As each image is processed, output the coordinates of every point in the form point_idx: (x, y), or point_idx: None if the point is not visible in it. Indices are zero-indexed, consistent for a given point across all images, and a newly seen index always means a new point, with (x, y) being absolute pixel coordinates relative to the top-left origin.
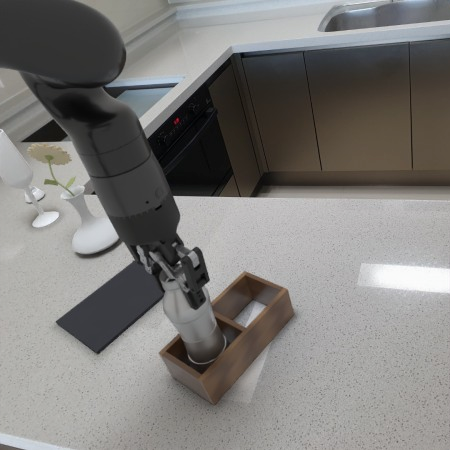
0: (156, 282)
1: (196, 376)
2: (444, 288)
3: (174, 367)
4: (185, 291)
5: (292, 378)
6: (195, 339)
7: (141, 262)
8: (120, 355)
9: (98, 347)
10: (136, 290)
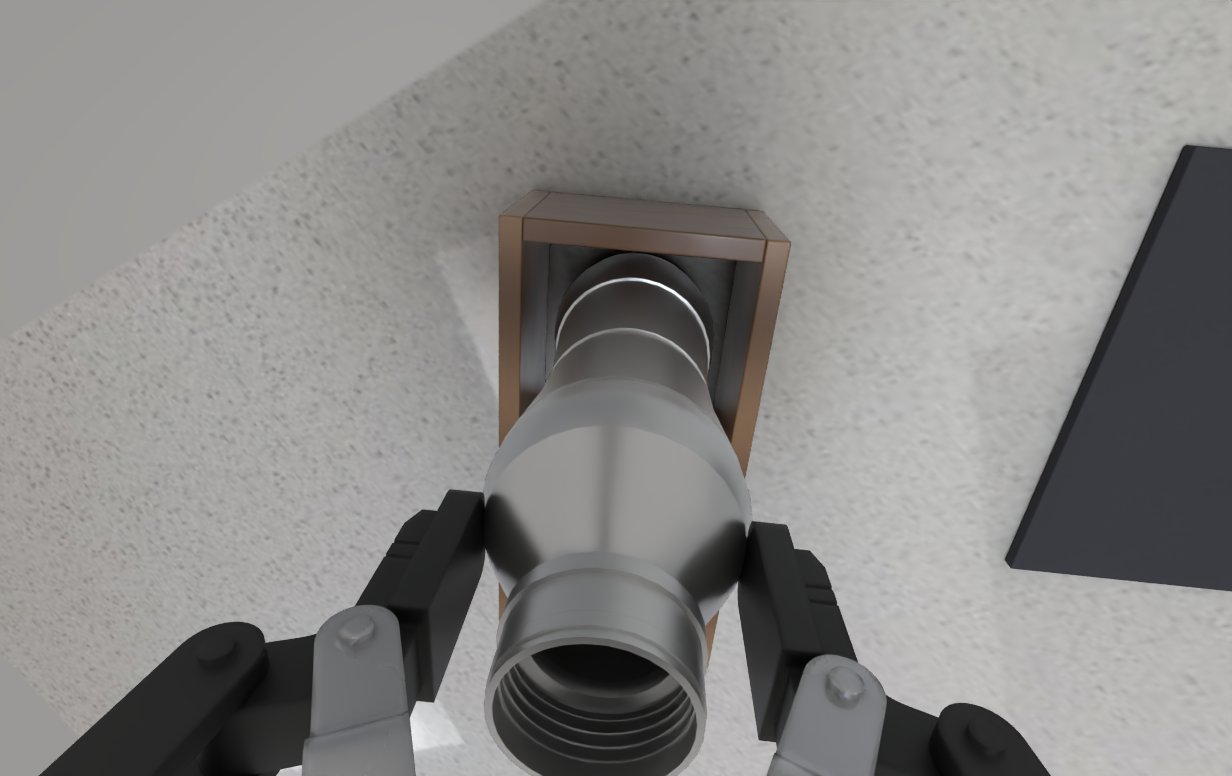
0: (788, 586)
1: (537, 223)
2: None
3: (696, 224)
4: (374, 609)
5: (378, 377)
6: (569, 353)
7: (944, 753)
8: (1060, 189)
9: (1201, 170)
10: (1195, 461)
